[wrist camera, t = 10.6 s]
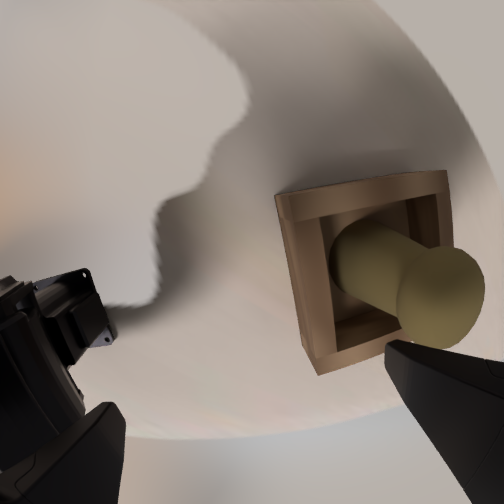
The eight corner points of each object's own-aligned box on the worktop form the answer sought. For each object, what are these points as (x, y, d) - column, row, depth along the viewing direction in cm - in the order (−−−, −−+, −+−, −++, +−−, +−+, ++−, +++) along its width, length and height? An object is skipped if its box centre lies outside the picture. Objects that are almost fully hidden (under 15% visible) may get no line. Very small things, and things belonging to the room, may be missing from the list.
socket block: (302, 344, 22) (318, 375, 18) (274, 195, 20) (288, 195, 15) (421, 303, 23) (450, 322, 18) (411, 172, 20) (446, 169, 16)
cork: (393, 291, 22) (484, 350, 11) (327, 300, 21) (404, 383, 10) (397, 218, 20) (506, 241, 10) (328, 220, 20) (427, 249, 9)
